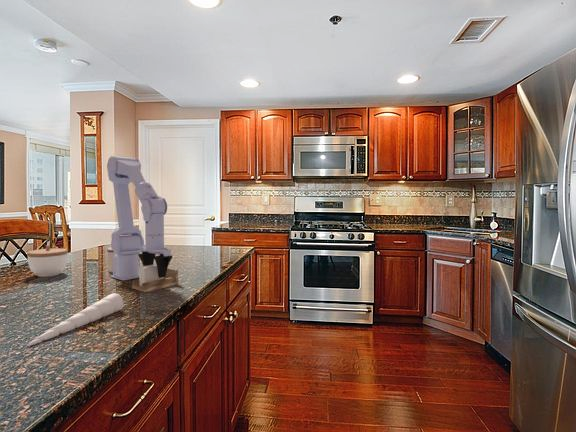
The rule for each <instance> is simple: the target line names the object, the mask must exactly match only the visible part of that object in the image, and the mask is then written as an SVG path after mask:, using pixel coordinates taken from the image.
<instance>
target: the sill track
mask: <svg viewBox="0 0 576 432" xmlns="http://www.w3.org/2000/svg"><path fill="white" fill-rule="evenodd" d="M177 285H179V269H177V268H171V267H168V268H167V272H166V276H165V277H164V279H160V280H156V281H151V282H146V283H142V286H140V285H139V279H136V280H135V279H133V280H132V284H131V288H132V289H133V290H134V289H135V290H137V291H139V292H140V291H141V292H143V293H147V292H152V291H154V290H155V291H156V290H160V289H165V288H169V287H173V286H177Z"/></svg>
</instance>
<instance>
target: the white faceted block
mask: <svg viewBox="0 0 576 432" xmlns="http://www.w3.org/2000/svg"><path fill="white" fill-rule="evenodd" d="M160 279H164V277H161V278H159V277H158V270H157V264H156V263H155V264H154V263H153V265H148V266H143V265H142V266H139V278H138V280H139V285H140V286H142V283H146V282H151V281H156V280H160Z"/></svg>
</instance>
